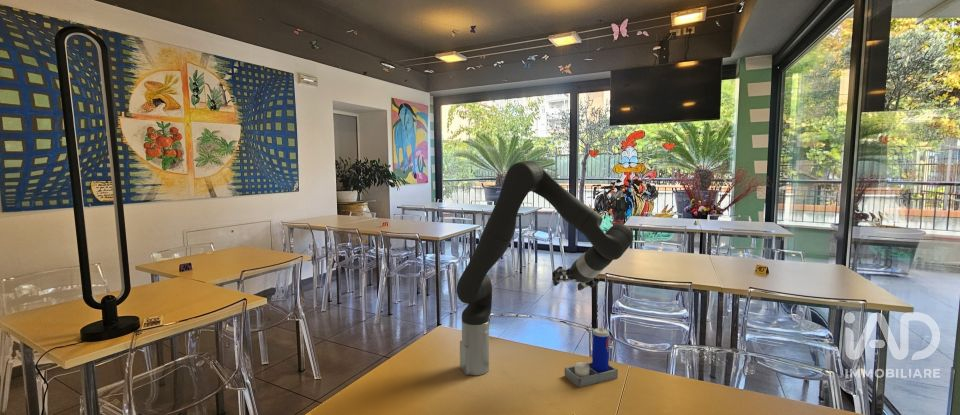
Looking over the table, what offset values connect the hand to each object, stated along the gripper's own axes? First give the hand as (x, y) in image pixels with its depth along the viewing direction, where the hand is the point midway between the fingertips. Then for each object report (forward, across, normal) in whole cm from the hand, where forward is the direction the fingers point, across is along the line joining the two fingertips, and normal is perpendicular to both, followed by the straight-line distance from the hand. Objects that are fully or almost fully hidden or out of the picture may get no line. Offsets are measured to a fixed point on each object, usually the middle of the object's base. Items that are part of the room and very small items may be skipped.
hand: (566, 285), depth 140 cm
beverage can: (+10, -15, +25) cm, 31 cm away
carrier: (+10, -12, +26) cm, 31 cm away
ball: (+9, -9, +27) cm, 30 cm away
